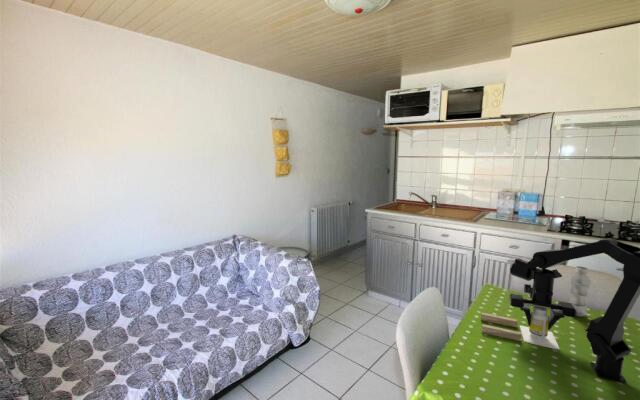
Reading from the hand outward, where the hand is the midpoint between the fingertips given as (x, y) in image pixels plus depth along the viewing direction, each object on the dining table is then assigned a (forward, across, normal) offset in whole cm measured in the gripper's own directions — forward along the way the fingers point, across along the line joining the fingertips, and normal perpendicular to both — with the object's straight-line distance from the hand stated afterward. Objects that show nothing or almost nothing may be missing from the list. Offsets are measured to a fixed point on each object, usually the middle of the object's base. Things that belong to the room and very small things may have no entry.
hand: (538, 327), depth 108 cm
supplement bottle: (+3, 0, 0) cm, 3 cm away
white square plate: (+4, 0, 0) cm, 4 cm away
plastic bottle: (+4, -17, -26) cm, 32 cm away
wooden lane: (+4, +12, 0) cm, 12 cm away
